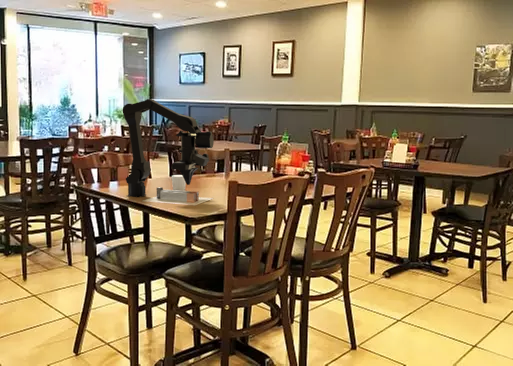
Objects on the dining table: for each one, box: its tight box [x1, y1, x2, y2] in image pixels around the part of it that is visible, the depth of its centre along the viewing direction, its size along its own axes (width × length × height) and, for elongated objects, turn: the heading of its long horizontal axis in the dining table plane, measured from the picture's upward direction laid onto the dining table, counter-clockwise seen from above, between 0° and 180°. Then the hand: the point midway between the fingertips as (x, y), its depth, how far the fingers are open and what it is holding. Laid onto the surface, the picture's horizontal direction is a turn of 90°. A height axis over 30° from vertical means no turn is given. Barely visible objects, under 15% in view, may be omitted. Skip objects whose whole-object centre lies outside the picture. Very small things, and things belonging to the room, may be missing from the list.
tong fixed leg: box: [160, 191, 196, 203], centre depth 210 cm, size 15×2×4 cm, turn 71°
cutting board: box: [142, 196, 214, 206], centre depth 214 cm, size 24×18×1 cm
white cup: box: [171, 174, 187, 191], centre depth 242 cm, size 7×7×7 cm
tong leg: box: [156, 186, 200, 201], centre depth 213 cm, size 18×3×4 cm, turn 74°
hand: (188, 184), depth 217 cm, fingers closed
